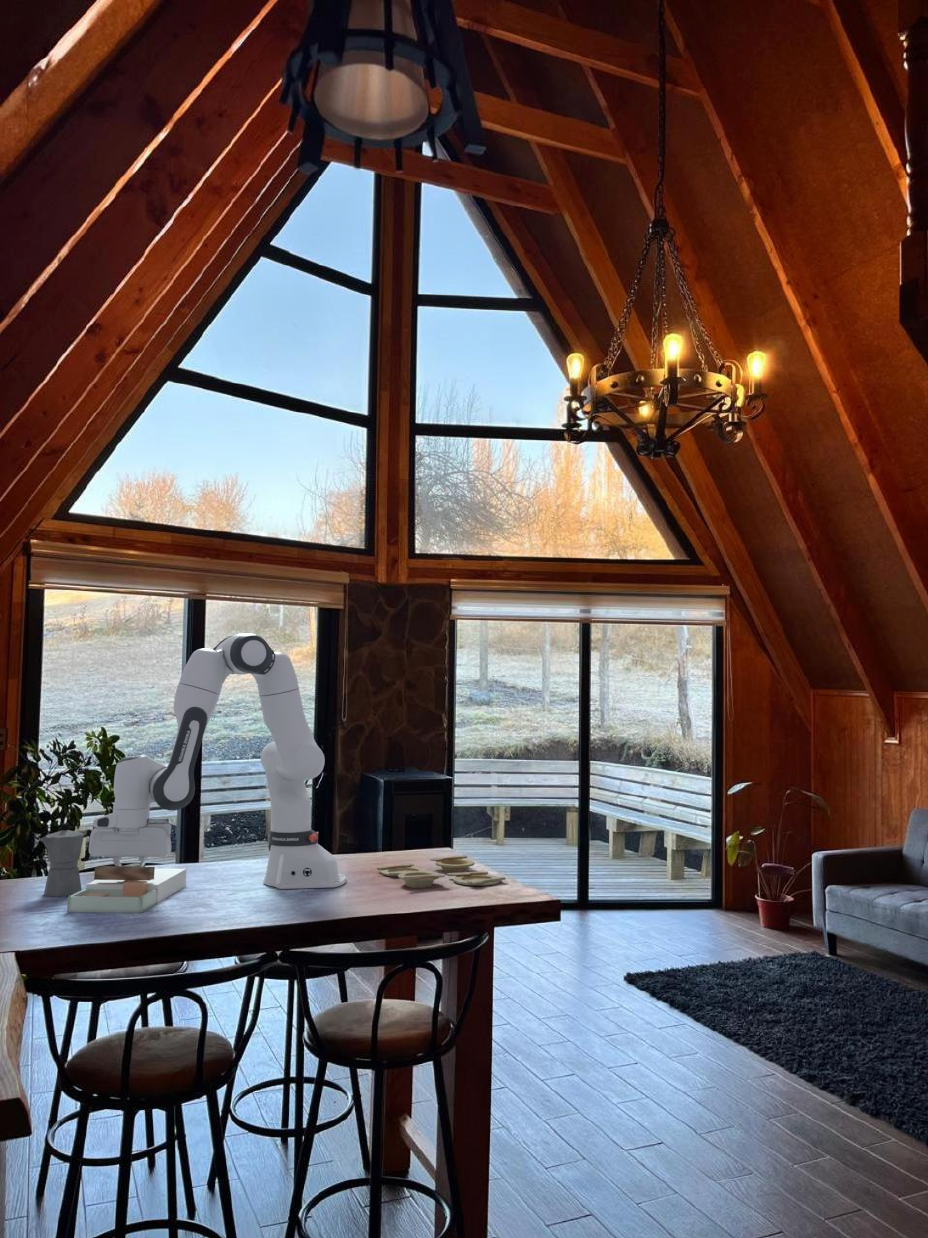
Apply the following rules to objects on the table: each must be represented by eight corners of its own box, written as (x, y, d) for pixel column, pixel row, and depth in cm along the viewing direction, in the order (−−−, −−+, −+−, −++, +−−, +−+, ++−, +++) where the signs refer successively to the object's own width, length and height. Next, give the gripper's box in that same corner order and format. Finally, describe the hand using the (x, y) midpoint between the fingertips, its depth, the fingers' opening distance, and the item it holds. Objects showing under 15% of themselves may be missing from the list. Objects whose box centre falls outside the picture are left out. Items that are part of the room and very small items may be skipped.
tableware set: (511, 887, 252) (511, 872, 252) (409, 895, 241) (409, 879, 241) (464, 865, 284) (464, 851, 285) (372, 871, 273) (372, 857, 274)
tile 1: (147, 881, 229) (143, 883, 227) (146, 901, 229) (142, 903, 226) (127, 880, 229) (123, 882, 227) (126, 901, 229) (122, 903, 227)
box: (157, 903, 230) (157, 889, 230) (141, 913, 220) (142, 898, 220) (85, 902, 230) (86, 888, 231) (67, 912, 220) (67, 897, 221)
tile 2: (99, 897, 222) (99, 908, 222) (108, 893, 227) (108, 903, 227) (79, 897, 222) (79, 908, 222) (88, 893, 227) (88, 903, 227)
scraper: (165, 875, 241) (166, 863, 241) (149, 880, 230) (150, 868, 230) (112, 875, 241) (113, 863, 242) (94, 879, 230) (94, 867, 231)
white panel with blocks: (185, 885, 250) (186, 869, 251) (157, 903, 230) (157, 885, 230) (120, 885, 251) (120, 868, 252) (85, 902, 230) (86, 884, 231)
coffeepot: (48, 900, 233) (51, 827, 234) (28, 895, 238) (31, 824, 240) (104, 890, 245) (106, 821, 246) (83, 885, 251) (86, 818, 252)
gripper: (175, 817, 239) (174, 872, 238) (97, 817, 240) (95, 871, 238) (167, 821, 232) (165, 877, 231) (86, 820, 233) (84, 876, 232)
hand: (129, 874), depth 235 cm, fingers closed on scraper, 3 cm apart
